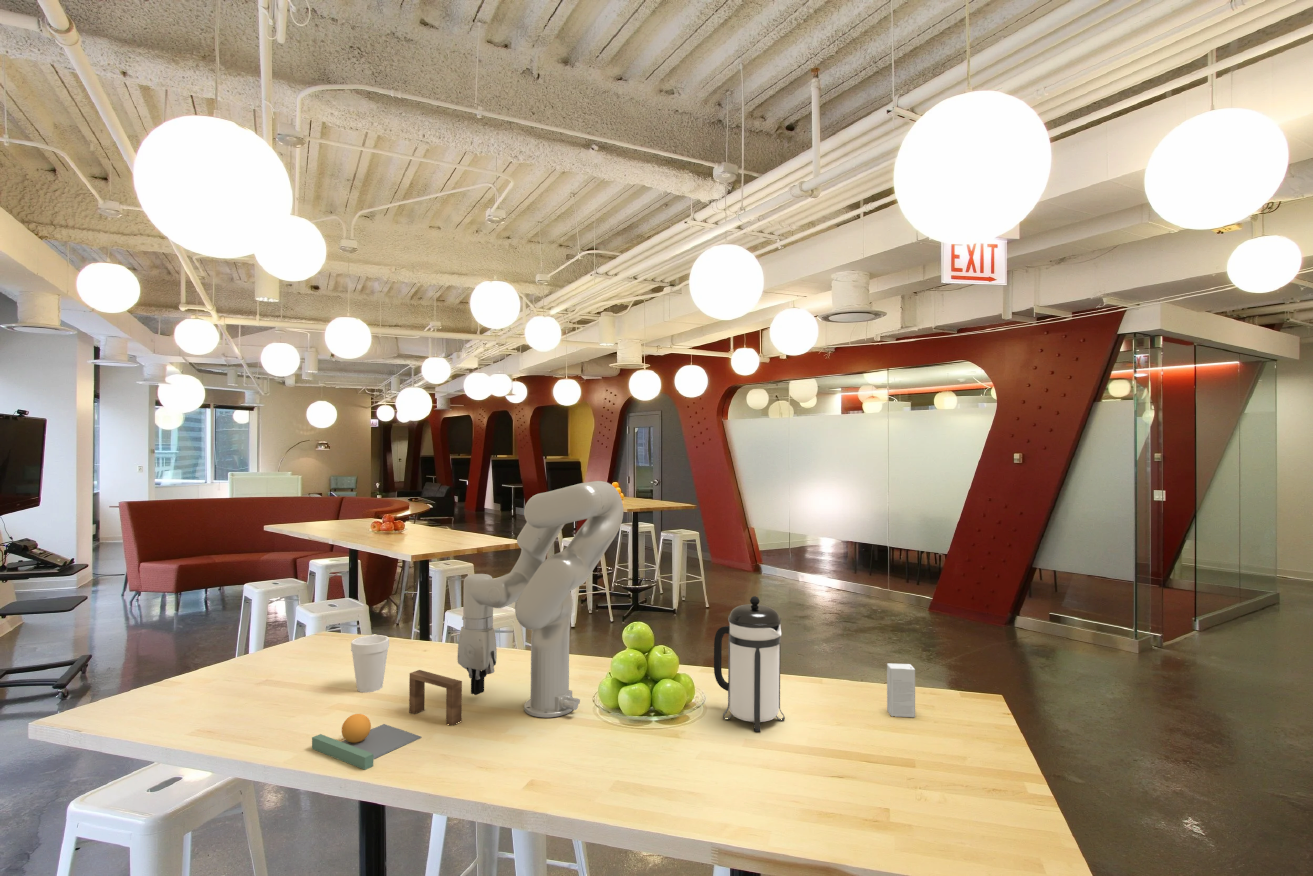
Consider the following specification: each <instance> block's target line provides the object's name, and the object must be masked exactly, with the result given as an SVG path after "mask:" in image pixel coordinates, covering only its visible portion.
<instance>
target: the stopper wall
mask: <svg viewBox="0 0 1313 876" xmlns="http://www.w3.org/2000/svg"><path fill="white" fill-rule="evenodd" d="M311 749H312V750H314V751H316V752H319V753H321V754H324V755H326V756H329V757H332V758H334V759H337V760H339V761H342V762H344V763H346V764H349V765H351V766H354V767H356V768H359V769H362V770H364V771H366V770H368V769H370V768H372V767H374V759H373V754H372V753H370V752H367V751H364V750H362V749H359V748H356V747H354V746H351V745H348V744H346V743H343V742H341V740H337V739H335V738H332V737H330V736H328V735H327V736H326V735H325V734H321V733H320V734H316V735H315V736H312V737H311Z"/></svg>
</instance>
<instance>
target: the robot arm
mask: <svg viewBox="0 0 1313 876" xmlns="http://www.w3.org/2000/svg"><path fill="white" fill-rule="evenodd" d="M623 503H624V502H623V500H622V497H621V495H620V492H619V491H618V490H617V488H616V487H615V486H613V484H611V483H610V482H607V481H601V480H594V481H587V482H581V483H577V484H574V485H569V486H565V487H562V488H561V487H560V488H557V489H554V490H550V491H546V492H540V493H537V494H535V495H532V497H530V498H529V499H528V500H527V502H526V504H525V507H524V511H523V514H524V518H525V521H526V523H525V525H523V527H522V528H521V531H520V533H519V534H518V536H517V538H516V543H517V545H518V547H519V548H520V549H521V550H520V555H519V557H518V559H517V561H516V562H515V564H514V566H513V567H512V569H511V571H510V572H509V573H505V574H504V575H501V576H499V577H495V578H493V577H492V575H490V574H488V573H486V574H485V573H473V574H469V575H467V576H465V578H464V579H463V596H462V597H463V604H462V605H463V615H462V617H461V620H462V622H463V623H462V625H463V626H461V628H460V630H459V635H458V644H457V656H456V657H457V659H456V660H457V664H458V665H460V666H461V667H462V668H463V669H465V670H466V671H467V672H468V677H469V679H470V694H471V695H474V696H478V695H481V694H482V693H484V692H485V678H486V677H487V676H488V675H491V674H494V673H495V666H496V664H497V659H498V658H497V656H498V655H497V651H498V648H497V639H496V631H495V628H494V609H503V608H505V607H508V606H510V605H512V604H514V603H516V604H515V607H514V608H515V609H514V612H515V617H516V620H517V621H518V623H519V625H520V626H522V627H523V628H524V629H526V630H529V631H531V635H530V637H531V638H530V641H531V642H530V698H529V699H528V700H526V702H524V704H523V705H524V706H523V709H524V712H525V713H526V714H528V715H530V716H532V717H537V718H545V719H546V718H557V717H561V716H565V715H568V714H569V713H572V711H577V710H578V707H579V704H580V702H581V699H580V698H578V697H573V690H571V689H570V632H571V630H570V629H571V619H572V614H573V607H574V606H573V605H574V603H573V602H574V601H573V594H572V591H573V590H575V589H577V588H579V587H581V586H582V585H583V584H585V583H586V581H588V579H589V577H590V575H591V574H592V573H593V571H594V569H595V568H596V567H597V565H598V564H599V562H600V560H601V559H602V558H603V556H604V554H605V553H606V551H607V550H608V549H609V547H610V545H611V544H612V542H613V540H614V539H615V538H616V537H617V534H618V532H619V530H620V528H621V525H622V522H623V520H624V519H623V518H624V504H623ZM583 520H585V522H584V523H583V524H582V525H581V527H580V528H579V529H578V530H577V532H576V534H575V535H574V536H573V538H572V539H571V541H570V542H569V543H568V545H567V546H566V547H565V549H563V550H562V551H560V552H557V553H555V554H551V555H550V556H549V557H547V554H548V552H549V550H550V549H551V547H552V546H553V544H554V542H555V541H556V539H557V537H558V536H559V535H560V533H561V532H562V529H563V528H564V526H565V525H566V524H571V523H574V522H578V521H583ZM546 557H547V558H546Z"/></svg>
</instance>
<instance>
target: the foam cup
mask: <svg viewBox="0 0 1313 876" xmlns="http://www.w3.org/2000/svg"><path fill="white" fill-rule="evenodd" d="M350 648H351V649H350V651H351V653H352V661H353V669H354V678H355V682H356V683H355V684H356V690H357V691H358V692H360V693H373V692H376V691H377V692H378V691H380V690H381V689H382V688H383V685H384V680H385V672H386V666H387V665H386V664H387V658H388V650H389V648H390V637H388V636H387V635H382V634H381V635H380V634H372V635H364V636H359V637H356V638H355V639H352V641H351V642H350Z"/></svg>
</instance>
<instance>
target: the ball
mask: <svg viewBox="0 0 1313 876" xmlns="http://www.w3.org/2000/svg"><path fill="white" fill-rule="evenodd" d="M371 729H372V723H371V720H370V719H369V717H368V716H367V715H366V714H362V713H355V714H351V715H349V717H347V718H346V719H345V720H344V722H343V723H342V726H341V735H342V737H343V739H344V740H346V741H348V742H351V743H357V742H360V741H362V740H364V739H365V738H366V737H367V736H368V734H369V732H370V730H371Z"/></svg>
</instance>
